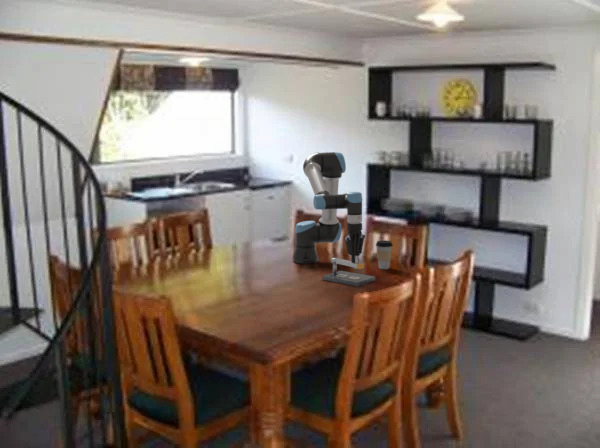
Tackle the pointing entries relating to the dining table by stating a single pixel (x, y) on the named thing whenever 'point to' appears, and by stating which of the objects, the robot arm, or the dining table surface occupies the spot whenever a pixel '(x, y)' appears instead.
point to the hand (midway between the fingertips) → (355, 267)
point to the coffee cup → (384, 254)
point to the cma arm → (347, 263)
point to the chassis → (348, 277)
